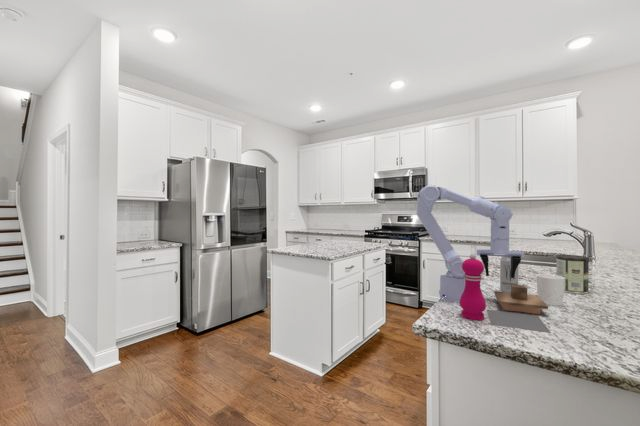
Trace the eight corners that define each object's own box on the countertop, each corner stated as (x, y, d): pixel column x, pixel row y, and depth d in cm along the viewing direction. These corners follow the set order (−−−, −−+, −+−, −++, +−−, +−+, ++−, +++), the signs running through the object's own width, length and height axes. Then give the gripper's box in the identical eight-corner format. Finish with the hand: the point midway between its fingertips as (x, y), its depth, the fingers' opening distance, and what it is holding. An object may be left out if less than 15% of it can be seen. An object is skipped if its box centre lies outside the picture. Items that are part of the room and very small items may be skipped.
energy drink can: (501, 294, 117) (501, 256, 117) (498, 290, 122) (499, 254, 122) (519, 296, 114) (520, 257, 114) (516, 292, 120) (516, 255, 120)
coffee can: (573, 287, 127) (574, 254, 127) (595, 294, 117) (596, 258, 117) (549, 287, 127) (549, 254, 127) (569, 294, 117) (569, 258, 117)
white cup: (570, 308, 100) (570, 279, 100) (543, 307, 102) (543, 278, 102) (556, 301, 108) (556, 274, 108) (532, 300, 109) (532, 273, 109)
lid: (498, 303, 97) (498, 288, 96) (494, 293, 108) (494, 279, 108) (548, 309, 91) (548, 293, 91) (537, 297, 103) (537, 283, 103)
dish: (503, 311, 98) (503, 302, 98) (499, 302, 107) (499, 294, 107) (540, 315, 94) (540, 306, 94) (532, 306, 103) (533, 297, 103)
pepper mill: (475, 324, 87) (476, 256, 87) (454, 316, 93) (454, 253, 93) (491, 320, 90) (491, 254, 90) (469, 312, 97) (469, 251, 96)
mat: (490, 326, 85) (490, 324, 85) (486, 311, 98) (486, 309, 98) (551, 335, 80) (551, 332, 80) (538, 317, 92) (538, 315, 92)
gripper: (477, 238, 106) (477, 276, 106) (526, 240, 100) (526, 281, 100) (476, 237, 112) (476, 273, 113) (522, 238, 106) (521, 276, 106)
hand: (499, 276), depth 107 cm, fingers open, 7 cm apart
